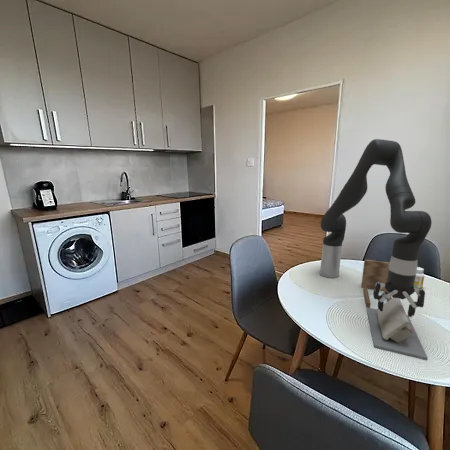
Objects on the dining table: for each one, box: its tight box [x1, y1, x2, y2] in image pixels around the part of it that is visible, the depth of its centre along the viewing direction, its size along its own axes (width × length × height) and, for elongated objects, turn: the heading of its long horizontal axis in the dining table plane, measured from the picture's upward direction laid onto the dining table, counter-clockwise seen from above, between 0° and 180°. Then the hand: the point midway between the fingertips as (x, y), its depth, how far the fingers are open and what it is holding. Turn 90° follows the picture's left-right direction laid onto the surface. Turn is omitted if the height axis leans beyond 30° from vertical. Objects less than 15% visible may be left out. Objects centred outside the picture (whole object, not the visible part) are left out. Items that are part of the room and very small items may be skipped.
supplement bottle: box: [414, 266, 425, 289], centre depth 119 cm, size 5×5×10 cm
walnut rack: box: [360, 259, 393, 309], centre depth 109 cm, size 11×20×14 cm, turn 156°
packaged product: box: [375, 297, 413, 343], centre depth 88 cm, size 18×5×10 cm
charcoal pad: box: [366, 307, 428, 361], centre depth 89 cm, size 14×24×1 cm, turn 156°
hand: (395, 312), depth 88 cm, fingers open, 8 cm apart
